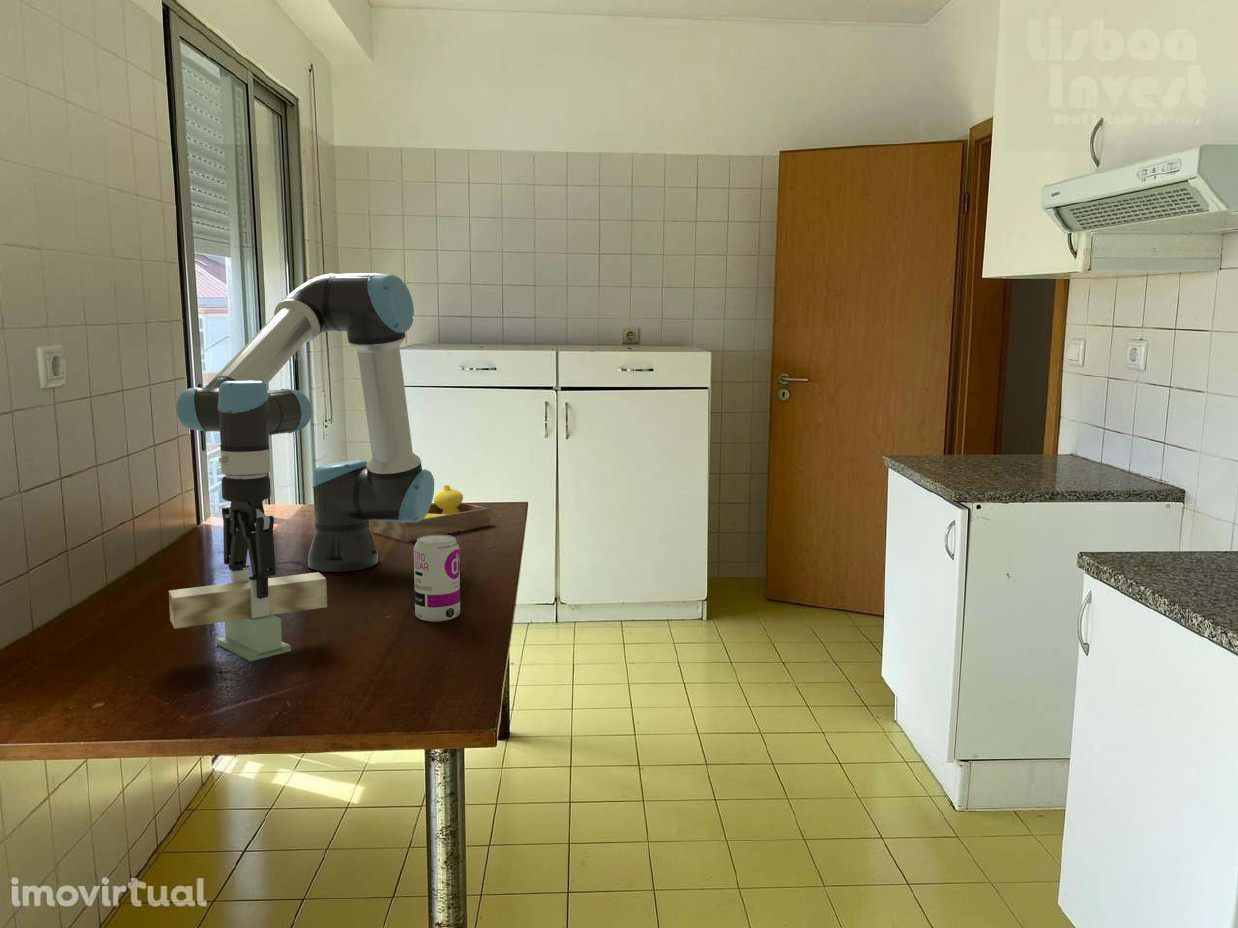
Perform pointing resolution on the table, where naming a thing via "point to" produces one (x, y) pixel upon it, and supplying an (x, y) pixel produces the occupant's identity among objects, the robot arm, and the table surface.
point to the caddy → (435, 523)
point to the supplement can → (437, 578)
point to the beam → (245, 599)
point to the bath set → (447, 501)
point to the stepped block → (254, 637)
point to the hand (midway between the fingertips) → (250, 611)
